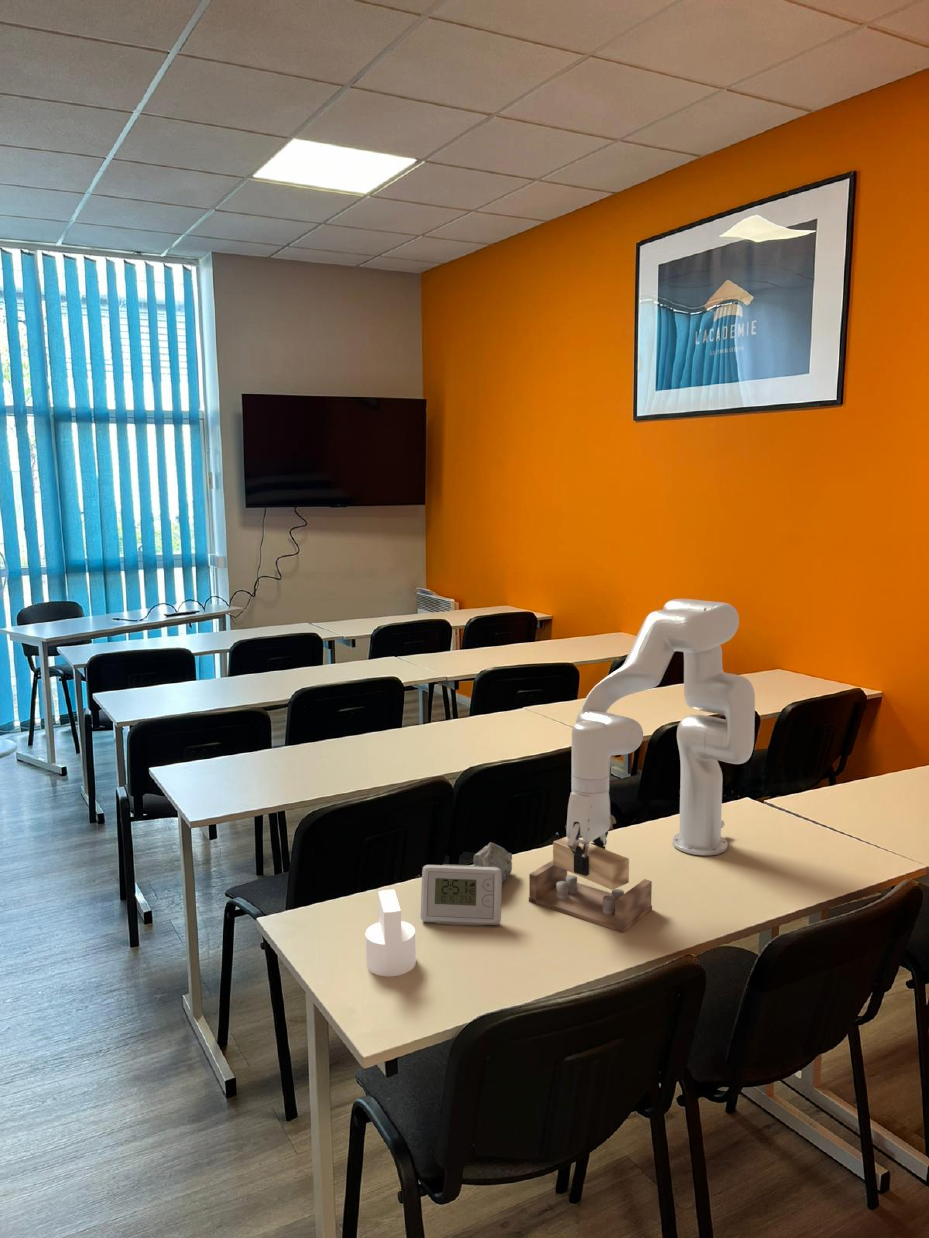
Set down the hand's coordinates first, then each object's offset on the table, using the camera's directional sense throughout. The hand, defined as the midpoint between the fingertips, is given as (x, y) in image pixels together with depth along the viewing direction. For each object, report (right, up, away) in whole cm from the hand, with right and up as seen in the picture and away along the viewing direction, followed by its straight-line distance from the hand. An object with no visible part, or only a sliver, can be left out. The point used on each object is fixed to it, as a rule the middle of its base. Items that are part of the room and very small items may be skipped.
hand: (589, 867), depth 182 cm
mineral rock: (-19, -7, +11) cm, 23 cm away
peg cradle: (0, -8, +1) cm, 8 cm away
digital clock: (-26, -10, -4) cm, 28 cm away
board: (0, -1, 0) cm, 1 cm away
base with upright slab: (-39, -12, -20) cm, 45 cm away
